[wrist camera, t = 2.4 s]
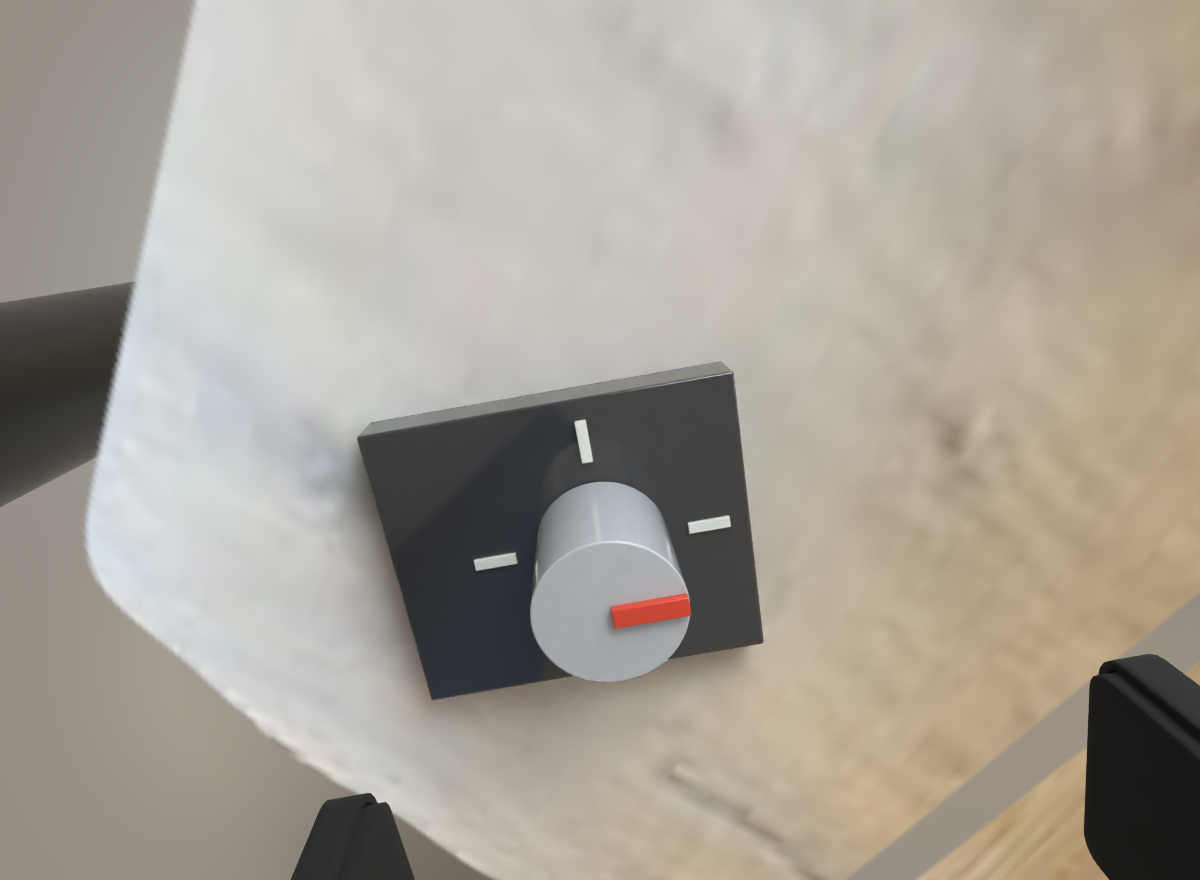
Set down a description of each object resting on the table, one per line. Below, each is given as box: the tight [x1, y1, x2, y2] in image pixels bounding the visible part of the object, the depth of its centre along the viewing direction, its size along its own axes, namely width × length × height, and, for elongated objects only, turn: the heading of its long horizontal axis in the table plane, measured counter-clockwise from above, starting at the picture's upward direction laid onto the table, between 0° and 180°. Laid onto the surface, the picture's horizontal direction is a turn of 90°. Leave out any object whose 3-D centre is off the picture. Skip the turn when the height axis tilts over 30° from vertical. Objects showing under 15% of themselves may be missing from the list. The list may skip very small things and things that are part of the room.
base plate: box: [357, 362, 764, 700], centre depth 25 cm, size 12×10×3 cm
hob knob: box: [530, 482, 691, 682], centre depth 22 cm, size 4×4×5 cm
